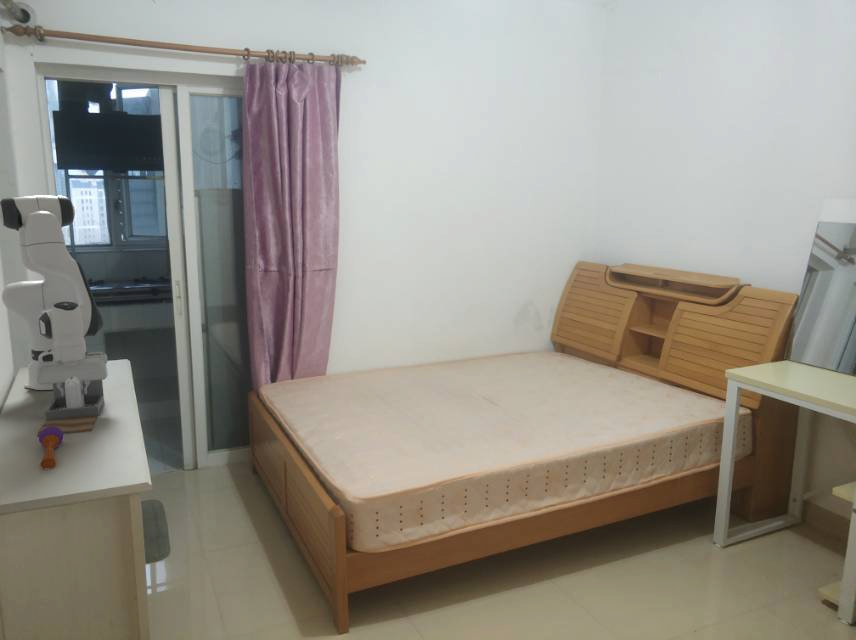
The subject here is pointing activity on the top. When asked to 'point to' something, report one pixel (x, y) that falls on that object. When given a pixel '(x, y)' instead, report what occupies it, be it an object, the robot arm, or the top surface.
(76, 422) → the walnut board
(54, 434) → the maraca
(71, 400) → the photo printer
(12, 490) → the top surface
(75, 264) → the robot arm
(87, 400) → the equipment case
